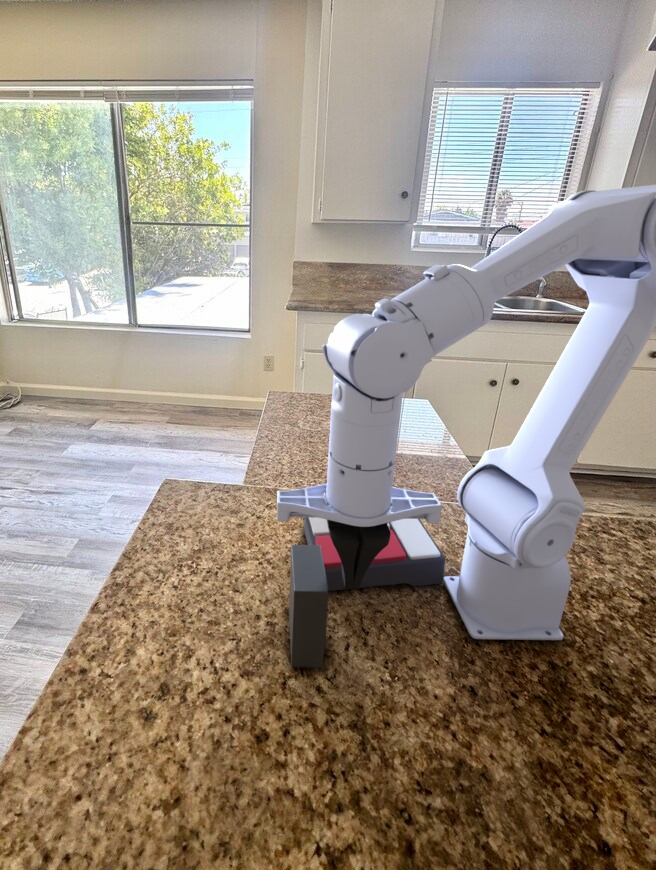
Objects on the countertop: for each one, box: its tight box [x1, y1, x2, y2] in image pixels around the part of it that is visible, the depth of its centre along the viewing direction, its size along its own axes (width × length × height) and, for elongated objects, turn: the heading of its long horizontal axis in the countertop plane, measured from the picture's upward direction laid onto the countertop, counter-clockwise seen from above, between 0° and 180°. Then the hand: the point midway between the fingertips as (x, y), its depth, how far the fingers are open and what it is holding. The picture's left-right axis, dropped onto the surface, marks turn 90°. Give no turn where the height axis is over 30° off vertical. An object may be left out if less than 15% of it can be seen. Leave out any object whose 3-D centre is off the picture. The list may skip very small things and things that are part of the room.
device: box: [288, 544, 330, 669], centre depth 41 cm, size 3×6×9 cm, turn 0°
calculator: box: [303, 517, 446, 592], centre depth 53 cm, size 11×4×15 cm
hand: (350, 580), depth 40 cm, fingers closed
